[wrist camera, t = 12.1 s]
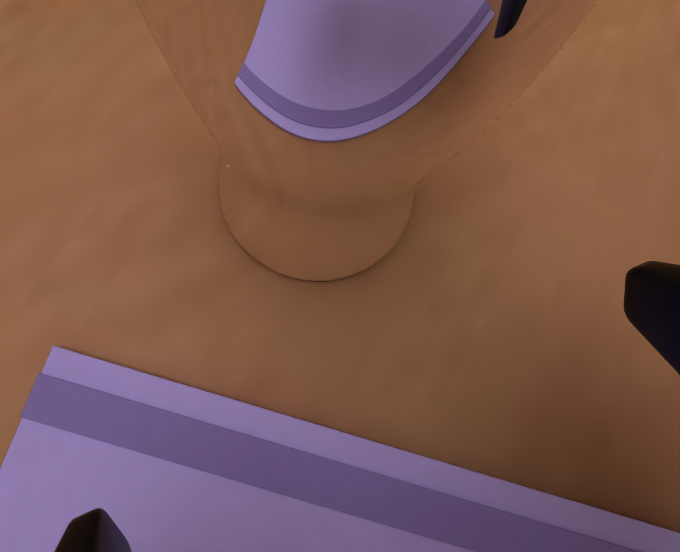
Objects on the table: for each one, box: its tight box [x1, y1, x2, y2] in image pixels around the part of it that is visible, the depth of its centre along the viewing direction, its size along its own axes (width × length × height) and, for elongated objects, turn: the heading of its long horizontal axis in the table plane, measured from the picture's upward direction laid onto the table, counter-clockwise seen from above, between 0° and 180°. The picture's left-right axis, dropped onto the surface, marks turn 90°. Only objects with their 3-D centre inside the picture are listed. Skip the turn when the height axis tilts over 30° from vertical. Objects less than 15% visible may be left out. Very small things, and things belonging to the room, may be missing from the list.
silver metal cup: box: [136, 0, 599, 281], centre depth 11 cm, size 7×7×15 cm
